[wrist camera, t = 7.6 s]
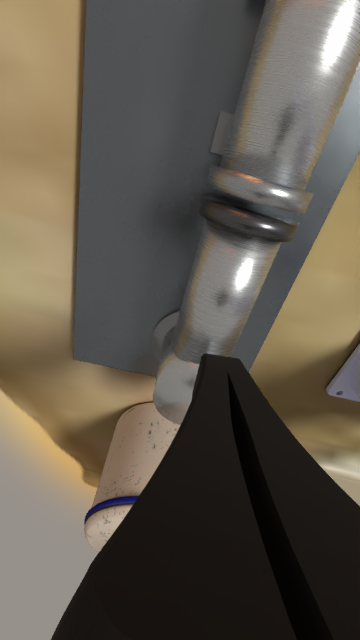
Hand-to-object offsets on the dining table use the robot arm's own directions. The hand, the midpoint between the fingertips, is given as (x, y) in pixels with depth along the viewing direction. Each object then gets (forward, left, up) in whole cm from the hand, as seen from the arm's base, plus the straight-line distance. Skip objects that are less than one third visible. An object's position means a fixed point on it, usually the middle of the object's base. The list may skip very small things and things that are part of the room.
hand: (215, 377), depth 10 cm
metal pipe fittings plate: (+2, -3, -10) cm, 10 cm away
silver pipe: (0, +1, -9) cm, 9 cm away
